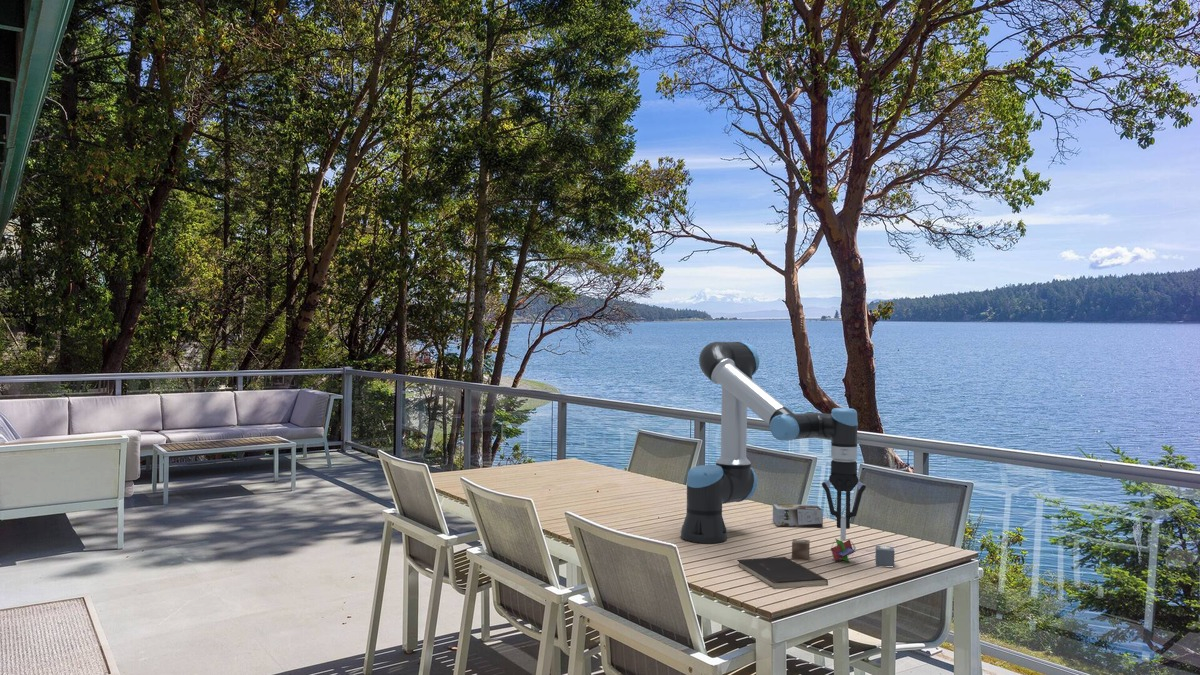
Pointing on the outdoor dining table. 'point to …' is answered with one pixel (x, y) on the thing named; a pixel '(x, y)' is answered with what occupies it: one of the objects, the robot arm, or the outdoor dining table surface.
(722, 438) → the robot arm
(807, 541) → the walnut dotted block
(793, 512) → the coffee box
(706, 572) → the outdoor dining table surface
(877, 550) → the charcoal dotted block
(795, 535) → the outdoor dining table surface
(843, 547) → the geometric puzzle
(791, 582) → the hardcover book
